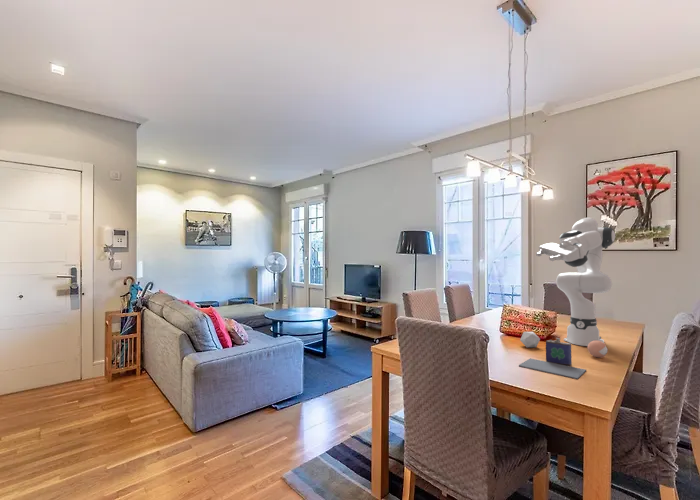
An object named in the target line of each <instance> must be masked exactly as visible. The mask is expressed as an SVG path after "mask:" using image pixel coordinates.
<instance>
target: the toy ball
mask: <svg viewBox="0 0 700 500" xmlns="http://www.w3.org/2000/svg"><path fill="white" fill-rule="evenodd" d="M587 352H588V353H589V354H590V355H591V356H593V357H594V358H596V359H597V358H598V359H599V358H600V359H601V358H605V357H606V355H607V353H608V348H607V345H606V343H605V342H604V343H603V342H601V341H597V340H595V341H591V342H590V343H589V344H588V346H587Z"/></svg>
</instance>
